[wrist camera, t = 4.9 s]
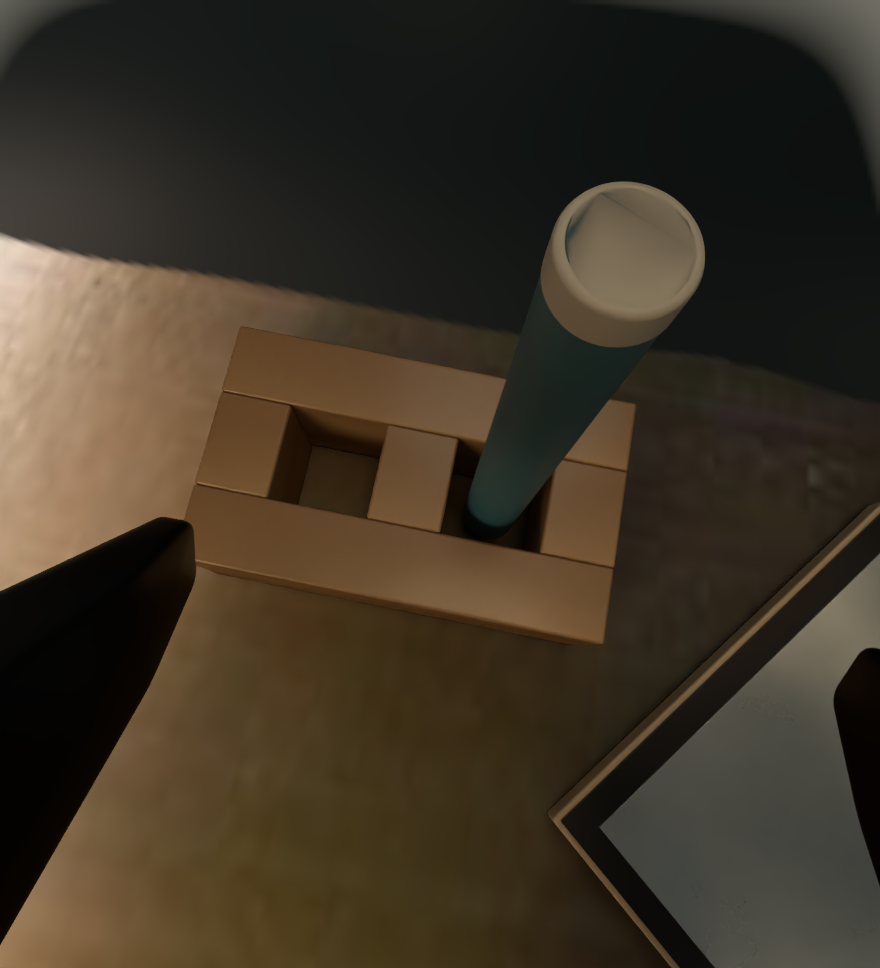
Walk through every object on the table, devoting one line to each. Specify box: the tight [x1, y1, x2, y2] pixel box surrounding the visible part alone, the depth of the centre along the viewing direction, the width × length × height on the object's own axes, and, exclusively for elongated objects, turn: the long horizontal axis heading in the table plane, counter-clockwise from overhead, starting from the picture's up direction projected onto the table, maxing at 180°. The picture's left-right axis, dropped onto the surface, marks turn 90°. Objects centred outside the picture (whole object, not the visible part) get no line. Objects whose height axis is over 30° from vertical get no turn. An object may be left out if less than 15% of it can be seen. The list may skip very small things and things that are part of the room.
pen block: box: [184, 326, 636, 645], centre depth 18 cm, size 6×10×4 cm, turn 79°
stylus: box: [463, 182, 705, 539], centre depth 13 cm, size 1×1×14 cm
